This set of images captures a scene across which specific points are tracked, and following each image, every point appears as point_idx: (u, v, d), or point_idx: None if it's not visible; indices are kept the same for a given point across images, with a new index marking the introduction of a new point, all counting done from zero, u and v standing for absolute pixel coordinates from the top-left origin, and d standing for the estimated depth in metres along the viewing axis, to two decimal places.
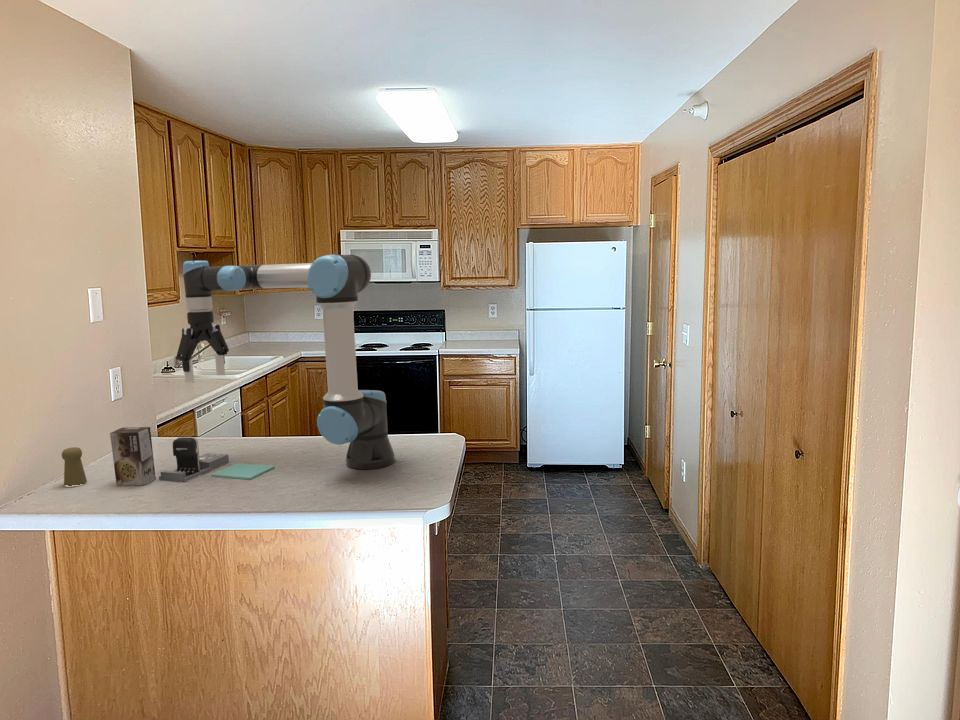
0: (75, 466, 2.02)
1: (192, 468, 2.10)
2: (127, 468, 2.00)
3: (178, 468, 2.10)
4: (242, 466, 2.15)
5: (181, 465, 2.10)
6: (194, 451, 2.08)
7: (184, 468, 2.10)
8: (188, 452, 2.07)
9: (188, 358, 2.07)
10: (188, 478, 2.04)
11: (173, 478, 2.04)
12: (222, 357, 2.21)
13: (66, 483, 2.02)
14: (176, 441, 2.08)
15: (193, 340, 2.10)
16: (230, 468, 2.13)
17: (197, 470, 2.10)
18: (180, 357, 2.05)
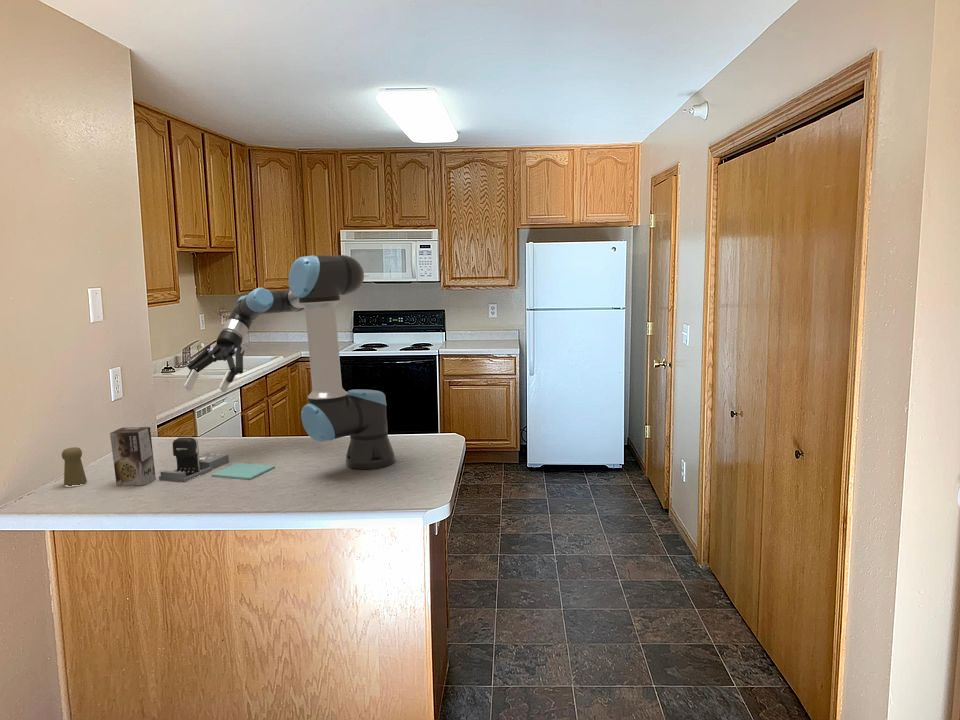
0: (75, 466, 2.02)
1: (192, 468, 2.10)
2: (127, 468, 2.00)
3: (178, 468, 2.10)
4: (242, 466, 2.15)
5: (181, 465, 2.10)
6: (194, 451, 2.08)
7: (184, 468, 2.10)
8: (188, 452, 2.07)
9: (192, 367, 2.23)
10: (188, 478, 2.04)
11: (173, 478, 2.04)
12: (227, 372, 2.17)
13: (66, 483, 2.02)
14: (176, 441, 2.08)
15: None
16: (230, 468, 2.13)
17: (197, 470, 2.10)
18: None
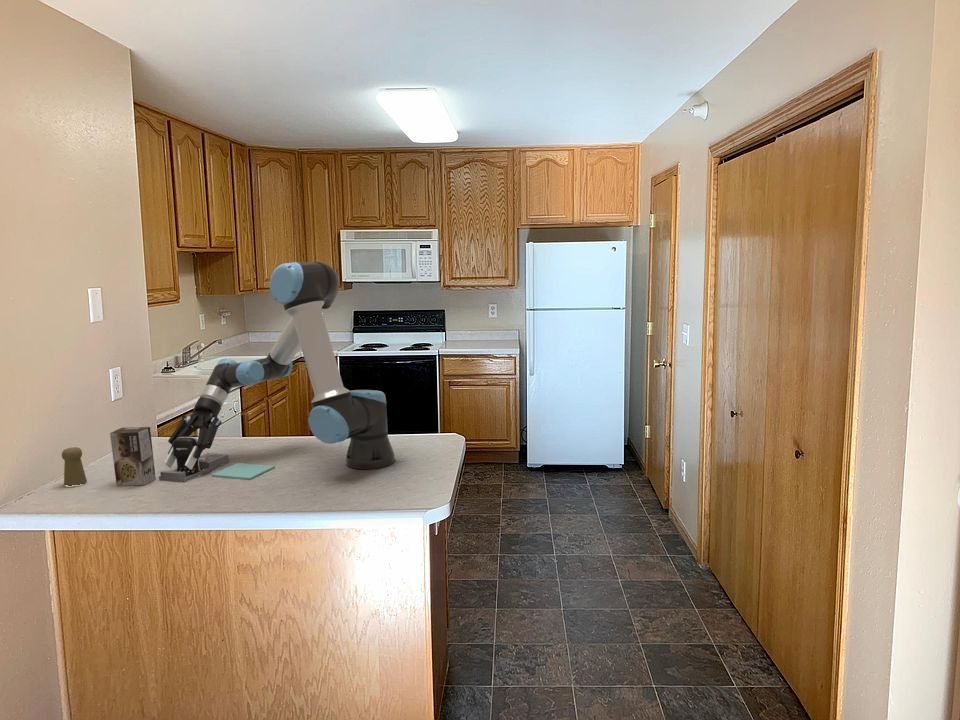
0: (75, 466, 2.02)
1: (192, 468, 2.10)
2: (127, 468, 2.00)
3: (178, 468, 2.10)
4: (242, 466, 2.15)
5: (181, 465, 2.10)
6: None
7: (184, 468, 2.10)
8: (188, 452, 2.07)
9: None
10: (188, 478, 2.04)
11: (173, 478, 2.04)
12: (194, 448, 2.08)
13: (66, 483, 2.02)
14: (176, 441, 2.07)
15: None
16: (230, 468, 2.13)
17: (197, 470, 2.10)
18: None
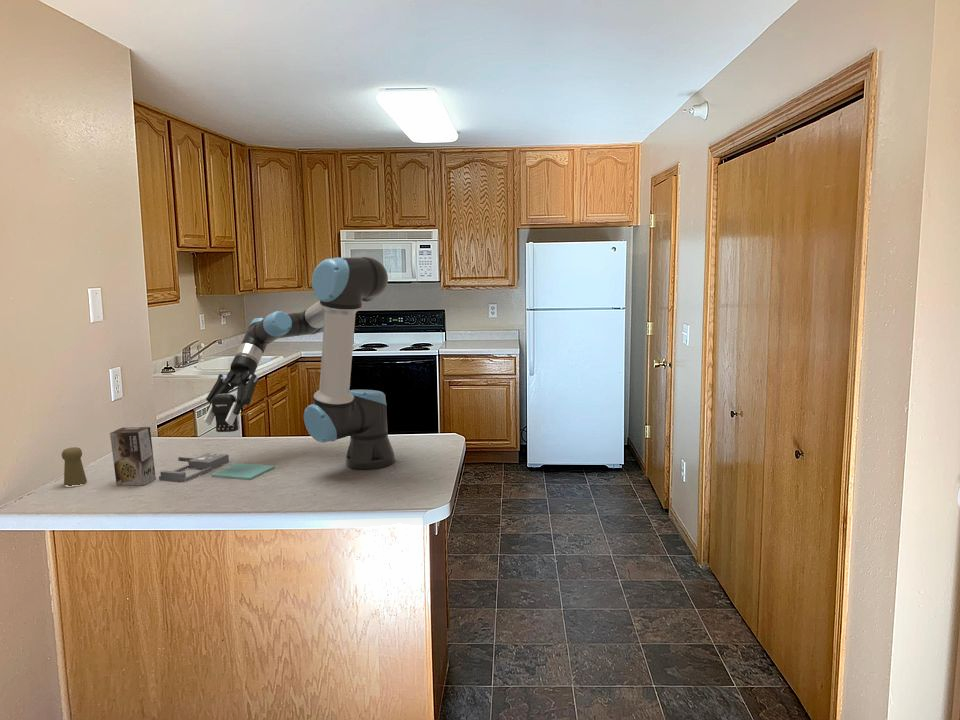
0: (75, 466, 2.02)
1: None
2: (127, 468, 2.00)
3: (217, 425, 2.09)
4: (242, 466, 2.15)
5: (220, 422, 2.09)
6: None
7: (223, 425, 2.09)
8: (227, 408, 2.06)
9: (211, 399, 2.10)
10: (188, 478, 2.04)
11: (173, 478, 2.04)
12: (233, 404, 2.06)
13: (66, 483, 2.02)
14: (215, 397, 2.06)
15: None
16: (230, 468, 2.13)
17: (237, 427, 2.09)
18: None
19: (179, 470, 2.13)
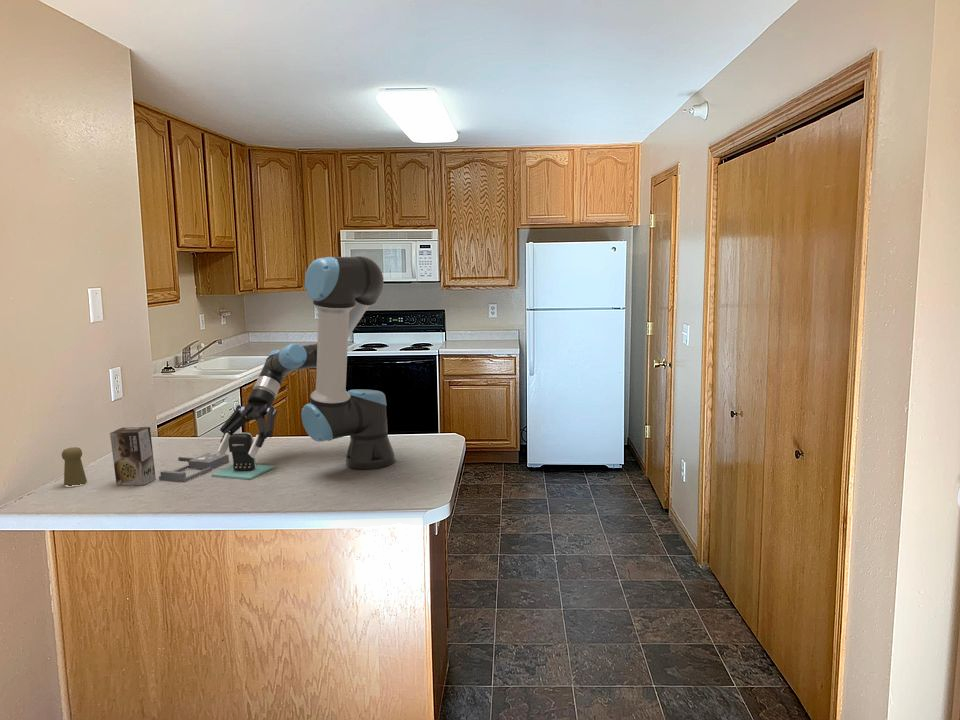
0: (75, 466, 2.02)
1: (248, 463, 2.10)
2: (127, 468, 2.00)
3: (234, 464, 2.11)
4: None
5: (237, 461, 2.10)
6: (250, 446, 2.08)
7: (240, 464, 2.10)
8: (244, 448, 2.07)
9: (225, 430, 2.12)
10: (188, 478, 2.04)
11: (173, 478, 2.04)
12: (256, 436, 2.07)
13: (66, 483, 2.02)
14: (232, 437, 2.07)
15: None
16: (230, 468, 2.13)
17: (253, 465, 2.10)
18: None
19: (179, 470, 2.13)
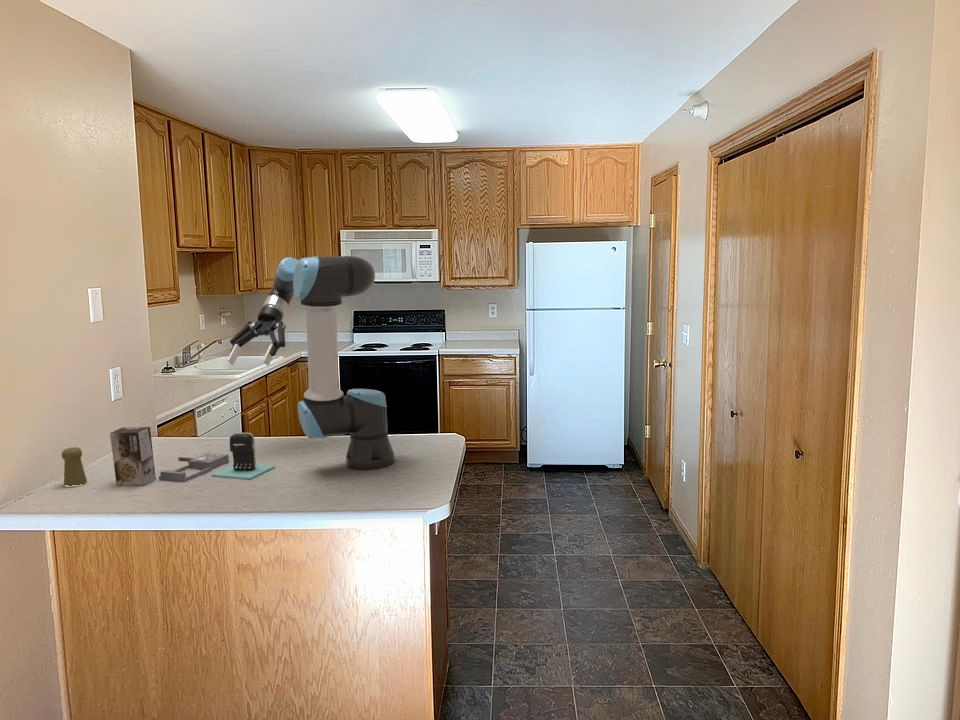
0: (75, 466, 2.02)
1: (248, 464, 2.10)
2: (127, 468, 2.00)
3: (234, 464, 2.11)
4: None
5: (237, 461, 2.11)
6: (251, 447, 2.08)
7: (240, 464, 2.11)
8: (245, 448, 2.07)
9: (235, 341, 2.27)
10: (188, 478, 2.04)
11: (173, 478, 2.04)
12: (270, 346, 2.21)
13: (66, 483, 2.02)
14: (233, 437, 2.08)
15: None
16: (230, 468, 2.13)
17: (253, 466, 2.10)
18: None
19: (179, 470, 2.13)
